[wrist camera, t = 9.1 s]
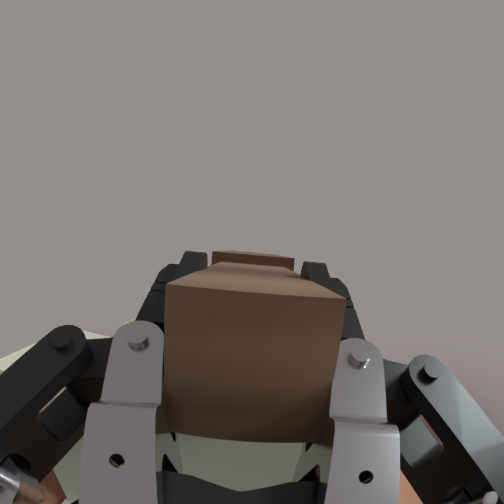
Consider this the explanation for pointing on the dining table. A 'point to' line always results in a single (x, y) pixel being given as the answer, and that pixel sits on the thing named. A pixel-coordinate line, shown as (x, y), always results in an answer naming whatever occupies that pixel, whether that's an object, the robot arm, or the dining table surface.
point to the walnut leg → (249, 350)
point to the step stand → (197, 455)
